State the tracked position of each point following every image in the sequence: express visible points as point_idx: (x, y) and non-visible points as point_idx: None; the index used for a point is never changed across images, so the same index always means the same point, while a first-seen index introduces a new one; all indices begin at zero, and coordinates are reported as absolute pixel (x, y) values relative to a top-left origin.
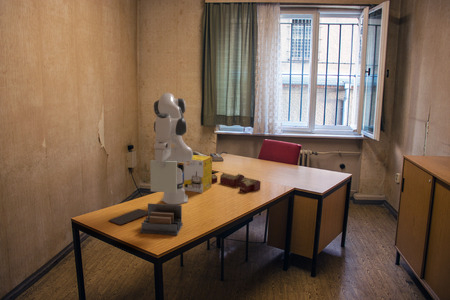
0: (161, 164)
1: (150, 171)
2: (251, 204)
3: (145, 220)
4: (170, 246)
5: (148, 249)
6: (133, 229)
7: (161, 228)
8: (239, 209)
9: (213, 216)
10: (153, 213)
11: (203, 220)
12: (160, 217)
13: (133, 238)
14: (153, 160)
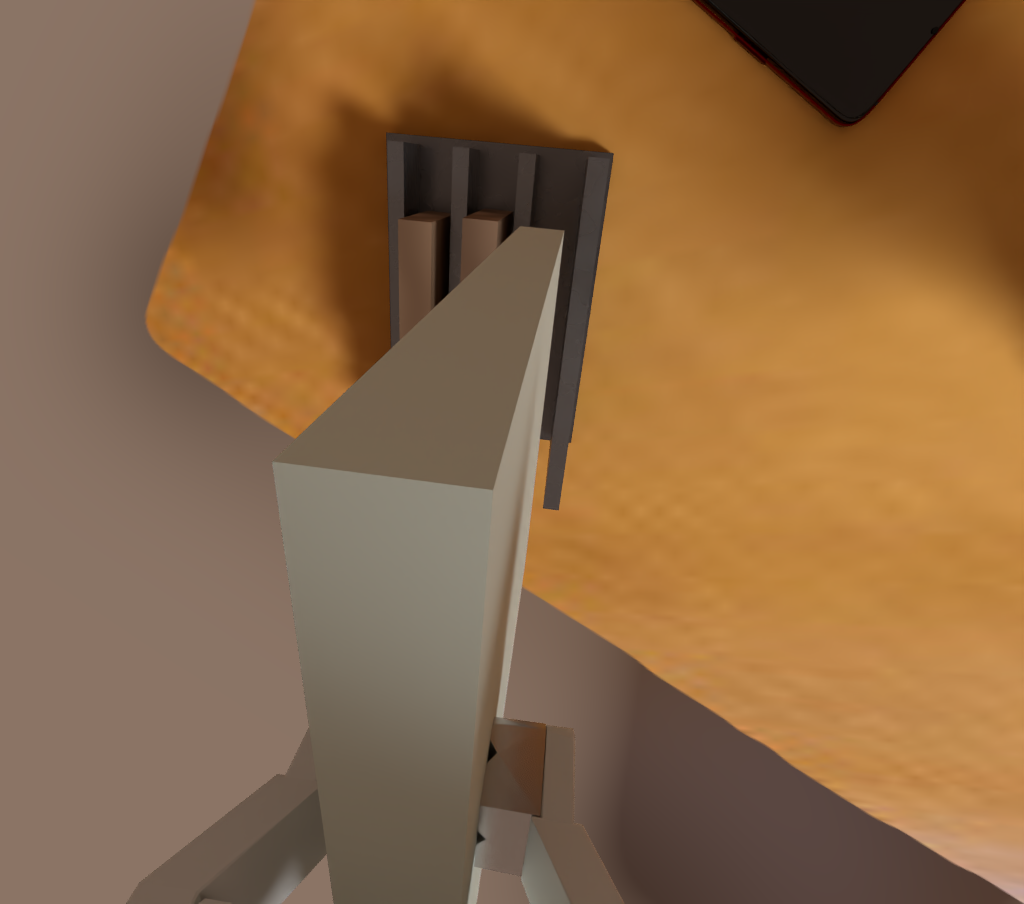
0: (266, 797)
1: (452, 293)
2: (906, 792)
3: (453, 165)
4: (247, 391)
5: (169, 265)
6: (459, 44)
7: None
8: (827, 733)
9: (720, 605)
10: (461, 251)
11: (653, 552)
12: (413, 325)
13: (291, 103)
14: (442, 638)
